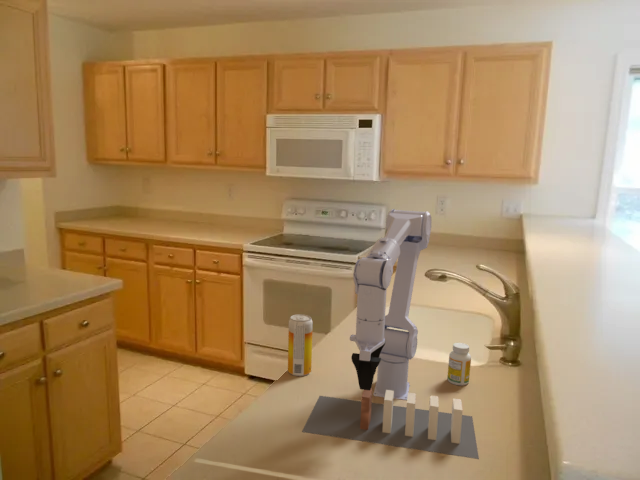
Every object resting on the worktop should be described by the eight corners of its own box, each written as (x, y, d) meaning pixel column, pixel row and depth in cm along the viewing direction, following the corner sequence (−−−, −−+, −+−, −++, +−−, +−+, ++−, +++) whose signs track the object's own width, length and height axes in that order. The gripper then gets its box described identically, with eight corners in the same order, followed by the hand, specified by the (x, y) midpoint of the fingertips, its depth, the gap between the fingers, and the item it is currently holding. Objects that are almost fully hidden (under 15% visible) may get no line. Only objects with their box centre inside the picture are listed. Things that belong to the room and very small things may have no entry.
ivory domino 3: (427, 438, 96) (430, 405, 95) (428, 427, 101) (430, 395, 100) (436, 440, 96) (438, 406, 95) (436, 428, 100) (438, 396, 99)
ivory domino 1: (382, 432, 98) (384, 399, 97) (384, 420, 103) (386, 389, 102) (390, 433, 98) (392, 400, 97) (392, 422, 102) (393, 390, 101)
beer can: (311, 368, 129) (312, 314, 127) (311, 378, 123) (313, 321, 121) (288, 368, 129) (289, 313, 127) (287, 378, 123) (288, 321, 121)
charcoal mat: (319, 397, 113) (319, 395, 113) (471, 418, 106) (472, 416, 106) (301, 433, 98) (301, 431, 98) (478, 461, 90) (478, 458, 90)
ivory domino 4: (451, 442, 95) (453, 409, 94) (450, 430, 100) (453, 398, 99) (459, 443, 95) (462, 410, 94) (458, 431, 99) (461, 399, 98)
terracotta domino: (360, 428, 99) (361, 396, 98) (363, 417, 104) (364, 386, 103) (367, 430, 99) (369, 397, 98) (370, 418, 103) (372, 387, 102)
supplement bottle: (451, 386, 121) (454, 349, 120) (444, 376, 126) (446, 341, 125) (472, 385, 122) (475, 349, 120) (464, 376, 127) (467, 341, 125)
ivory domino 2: (404, 435, 97) (406, 402, 96) (406, 424, 102) (408, 392, 101) (413, 436, 97) (415, 403, 96) (413, 425, 101) (415, 393, 100)
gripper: (356, 305, 106) (353, 364, 108) (344, 326, 92) (342, 394, 94) (389, 308, 104) (385, 368, 106) (382, 330, 90) (378, 399, 92)
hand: (367, 380), depth 100 cm, fingers open, 7 cm apart
